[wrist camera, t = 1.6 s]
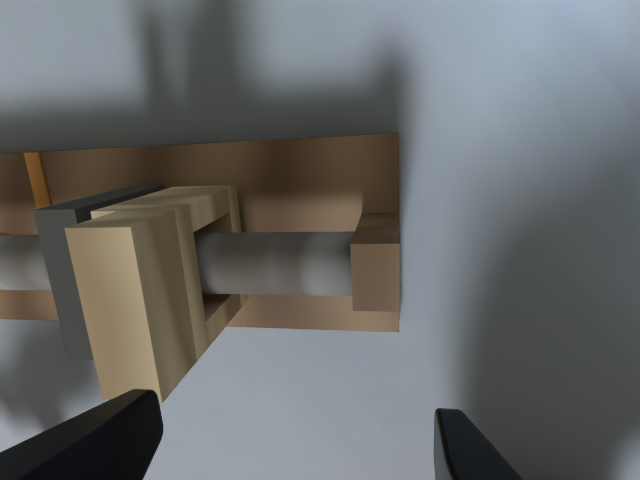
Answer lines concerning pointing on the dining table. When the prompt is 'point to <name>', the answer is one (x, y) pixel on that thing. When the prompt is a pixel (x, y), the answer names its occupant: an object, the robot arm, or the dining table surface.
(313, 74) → the dining table surface
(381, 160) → the pipe stand
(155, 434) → the robot arm
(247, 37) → the dining table surface
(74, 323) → the gray slab
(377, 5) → the dining table surface
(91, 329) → the sleeve
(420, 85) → the dining table surface
